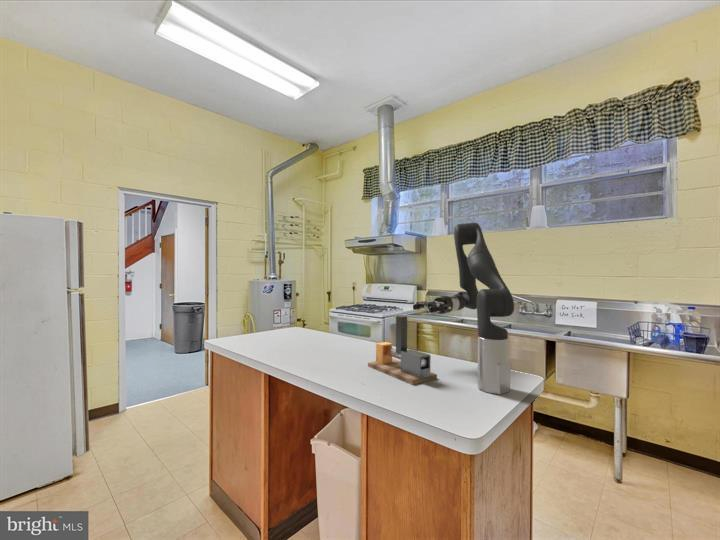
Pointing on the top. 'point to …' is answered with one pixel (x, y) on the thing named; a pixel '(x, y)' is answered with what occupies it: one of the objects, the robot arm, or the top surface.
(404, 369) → the guide sleeve
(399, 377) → the base board
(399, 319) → the sliding bolt
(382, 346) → the socket block
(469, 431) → the top surface
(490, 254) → the robot arm
